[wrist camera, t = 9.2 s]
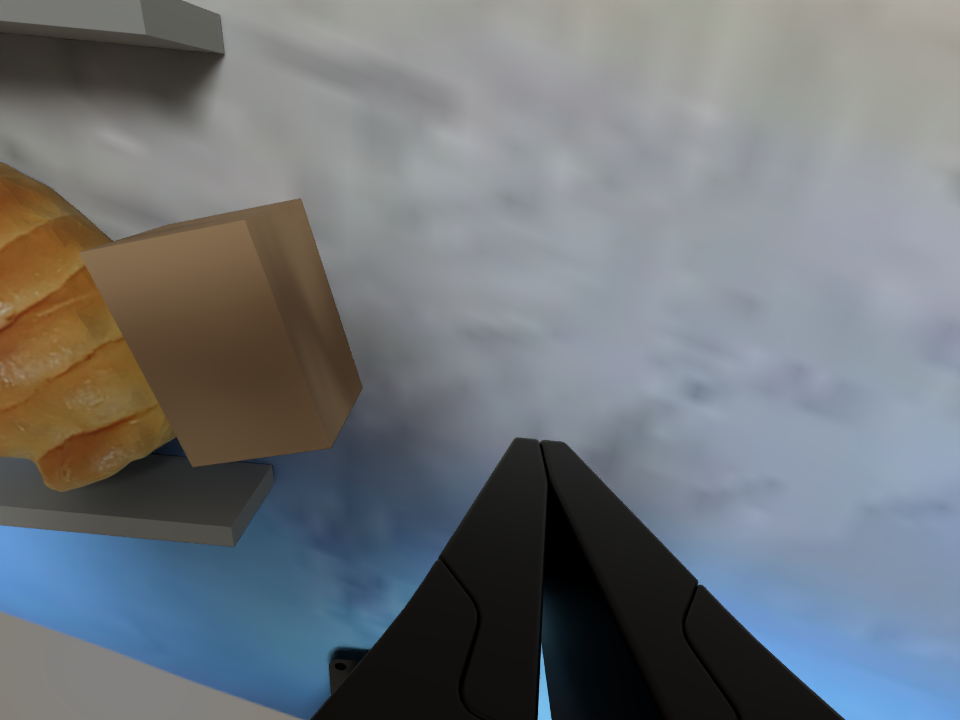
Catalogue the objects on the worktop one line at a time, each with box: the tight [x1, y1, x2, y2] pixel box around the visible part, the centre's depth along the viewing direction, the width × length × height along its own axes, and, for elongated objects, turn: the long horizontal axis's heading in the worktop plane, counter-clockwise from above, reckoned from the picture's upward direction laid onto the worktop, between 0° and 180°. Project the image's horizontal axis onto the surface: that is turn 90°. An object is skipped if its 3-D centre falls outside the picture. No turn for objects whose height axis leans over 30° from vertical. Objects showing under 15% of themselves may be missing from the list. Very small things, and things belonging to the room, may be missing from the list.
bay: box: [0, 0, 274, 547], centre depth 14 cm, size 14×11×3 cm
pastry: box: [0, 162, 176, 492], centre depth 14 cm, size 9×7×4 cm
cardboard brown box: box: [79, 198, 363, 467], centre depth 14 cm, size 6×4×4 cm, turn 11°
